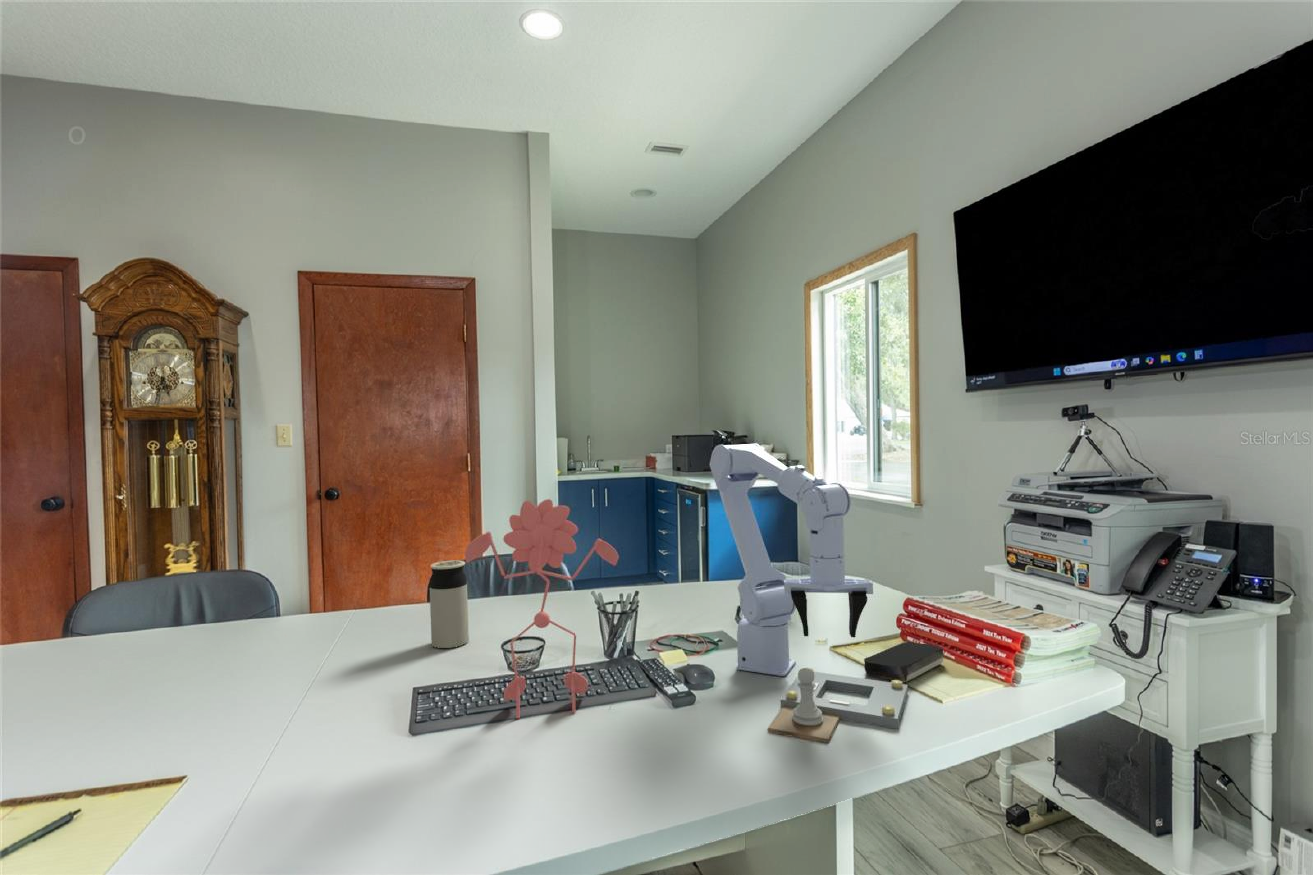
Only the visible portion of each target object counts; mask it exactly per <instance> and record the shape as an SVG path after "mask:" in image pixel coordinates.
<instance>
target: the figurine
mask: <svg viewBox="0 0 1313 875" xmlns="http://www.w3.org/2000/svg"><path fill="white" fill-rule="evenodd" d="M570 511H571V509H570V507H569V506H567V505H557V506H554V503H553V500H552V499H550V498H548V499H544V500H542V501H541V502H540V503H538V505H537V506H536V505H535V503H534V502H532V501H530V500H528V499H527V500H525V501H523V502H522V504H521V507H520V513H519V515H518V514H512V515H510V516H509V521H508V522H509V525H510V528H511V530H512V531H509V532H507V533H506V534H505V535H504V536H503V542H504V543H505V544H506V546H508V547H510V548H512V549H514V550H513V552H512V556H511V557H512V561H514V562H516V563H525V562H528V563H527V566H528V569H529V570H528V571H522V572H516V573H513V574H512V573H511V574H506V573H505V570H504V568H503V565H502V563H501V562H502V561H501V559H500V557H499V554H498V551H497V549H496V546H495V543H494V541H493V537H492V532H491V531H486V532H485V533H483V534H480V535H478V536H477V537H475V538H474V539H473V540H471V542H470V543H468V545H467V546H466V548H465V551H464V559H465V564H468V563H470V562H472V561H474V560H475V559H477V558H479V557H481V556H482V555H483V554H484V553H485V552H487V551H488V549H489V548H490V547H491V549H492V552H493V554H494V557H495V560H496V562H497V566H498V567H499V572H500V573H501V574H500V575H501V576H503V580H504V579H510V578H516V577H521V576H526V575H527V576H528V575H531V574H536V575H538V576H540V577H541V578H542V579H543V580H544V581H545V582H546V584H545V589H544V592H543V593H544V594H543V599H542V604H541V608H540V611H539V612H537V613H536V614H535V616H534V618H533V621H534V622H532V623H531V624H530V625H529V626H528V627H526V628H525V629H523V631H521V633H519V634H518V635H517V636H515V638H513V639H512V640H511V641H510V644H509V645H510V652H511V656H512V664H513V665H512V666H513V670H514V671H513V672H514V677H515V678H513V679H512V680H511V681H510V682H509V684H507V686H506V687H505V691H504V690H503V691H504V692H503V698H504V700H505V702H506V701H508V700H513V699H515V698H516V700H515V703H516V705H515V708H516V711H515V712H516V719H520V716H521V710H520V708H521V704H520V702H521V700H520V699H521V697H520V696H521V695H522V694H523V692H525V689H526V686H527V685H526V684H527V682H526V678H525V676H522V675H520V676H518V671H517V665H516V664H517V662H516V658H515V657H516V656H515V648H514V642H515V641H516V640H517V639H519V638H520V637H521V636H523V634H525V633H526V632H527V631H529V630H530V629H531V628H532V627H534V626H536V627H537V628H538V629H545V628H547V627H548V626H549V624H551V625H552V626H553V625H554V626H555V627H558V628H559V629H561V630H563V631H565V632H567V633H569V634H571V635H573V649H572V667H571V668H572V669H571V672H568V673H565V675H564V680H563V681H564V682H563V683H564V685H565V687H566V689H567V690H569V691H570V693H571V711H572V713H573V714H574V713H577V712H576V711H577V710H576V695H578V694H583V693H585V695H586V694H587V693H586V692H587V691H588V689H589V682H588V680H587V679H586V677H585V676H583V675H582V674H581V673H580V672H576V671H575V668H576V667H575V663H576V649H577V648H576V644H577V634H576V633H575V632H573V631H571V630H569V629H567V628H566V627H564V626H562V625H560V624H558V623H556V622H554V621H553V620H551V618H550V615H549V614H548V612H546V611H544V608H545V606H546V605H545V604H546V600H547V596H548V592H549V590H550V589H549V588H550V585H551V583H550V581H551V580H550V579H549V578H548V577H547V576H551V577H555V578H559V579H563V580H567V581H570V582H574V580H575V579H576V577H577V576H578V575H579V573H580V571H581V570H582V569H583V567H584V566H585V565H586V563H587V562H588V561H589V559H590V557H591V556H592V555H593V553H594V552H596V554H597V555H598V556H600V558H602V559H603V560H604V561H606V562H607V563H609V564H611V565H613V566H616V565H617V564H618V561H619V558H620V556H619V554H618V552H617V550H616V548H614V547H613V546H612V545H611V544H609V543H608V542H607V541H604V540H602V539H601V538H597V539H596V540H595V541H594V545H593V547H591V549H590V551H589V553H587V555H586V557H585V558H584V559H583V561H582V562H581V564H580V565H579V566H578V568H577V570H576V571H575V573H574V574H573V575H572V576H569V575H567V576H566V575H564V574H559V573H555V572H551V571H547V570H544V569H543V568H544V567H545V566H546V565H547V564H548V565H549V566H550V567H552V568H554V569H557V568H558V569H559V568H560V567H561V566H562V562H563V559H564V554H566V555H567V554H568V555H572V554H574V553H576V552H577V544H576V542H575V540H574V539H573V537H572V536H574V535H575V534H577V533H578V531H579V527H578V526H577V525H576V524H575V523H574V522H572V521H571V520H567V519H568V518H569V516H570ZM577 693H578V694H577ZM611 707H612V705H610V707H609V709H608V710H610V709H611Z"/></svg>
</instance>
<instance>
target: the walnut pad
mask: <svg viewBox="0 0 1313 875" xmlns="http://www.w3.org/2000/svg"><path fill="white" fill-rule="evenodd" d="M794 708H795V707H790V706H783V707H782V708H781V707H780V710H779V712H778V713H777V714H776V715H775V717H774V718H773V720H772V721H771V722H770V724H769V726H768V727H767V732H769V733H773V734H778V735H783V736H789V737H794V738H799V739H805V740H810V741H814V742H815V741H816V742H820V743H825V744H829V742H830V740H831V738H832V736H833V734H834V732H835V730H836V728H837V726H838V724H839V722H840V720H841V719H840V715H837V714H831V713H825V712H822V715H821V716H822V717H823V721H822V723H821V724H819V725H817V726H803V725H799V724H797V723H796V722H795V721H794V720H793V719H792V715H793V714H794V713H793V709H794Z"/></svg>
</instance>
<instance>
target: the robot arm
mask: <svg viewBox="0 0 1313 875" xmlns="http://www.w3.org/2000/svg"><path fill="white" fill-rule="evenodd" d="M709 467H710V470H711V474H712V477H713V479H714V483H715V486H716V489H717V490H718V491H719V496H720V498H721V503H722V505H723V507H724V511H725V514H726V518H727V521H728V523H729V527H730V530H731V533H732V535H733V539H734V542H735V545H736V550H737V552H738V554H739V558H740V561H741V564H742V567H743V570H744V573H745V575H744V577H743V578H742V580H741V581H740V582H739V584H738V585H737V591H738V595H739V607H740V611H741V613H742V615H743V617H744V618H742V619H740V621H739V622H738V625H737V632H736V633H737V634H736V643H737V644H736V645H737V649H736V650H737V666H736V669H737V670H740V671H745V672H753V673H760V674H765V675H772V676H777V677H779V676H781V677H785V676H787V674H788V673H789V672H790V670H791V669H792V668H793V667H794V665H795V664H796V660H795V659H791V658H790V652H789V651H790V649H789V648H790V645H789V621H792V617H791V615H793V614H794V613H795V612H796V610H797V612H798V615H799V618H800V621H801V625H802V632H803V636H804V637H809V625H808V600H807V594H806V593H812V594H813V593H814V594H815V593H819V594H820V593H823V594H825V593H826V594H829V593H830V594H834V593H835V594H840V593H841V594H848V595H847V596H848V607H849V618H848V620H849V621H848V623H849V624H848V631H849V636H850V637H851V638H856V637H857V636H856V634H857V628H858V625H859V621H860V617H861V615H862V613H863V611H864V609H865V607H866V605H867V602H868V596H867V595H874V582H872V580H871V579H857V578H856V579H855V578H846V573H845V572H846V571H845V570H846V568H845V567H846V566H845V533H844V532H845V531H844V528H845V527H844V516H846V515H847V514H848V513H849V511H850V508H851V504H852V503H851V501H852V500H851V497H850V494H849V491H848V490H847V488H846V487H844V486H843V485H842V484H841V483H839V482H833V483H827V482H825V480H824V478H822V477H820V476H815V475H814V474H811V473H809V472H808V471H807V470H806V467H805V466H803V465H791V466H789V467H787V466H786V465H785V464H783V463H782V462H780V461H779V460H778V459H776V458H775V457H774V456H772V455H770V454H769V453H768V452H767V450H766V447H764V446H762V445H760V444H758V443H755V442H751V443H749V444H748V443H746V444H745V443H744V444H725V445H724V444H718V445H716V446H715V447H714V448H713V451H712V452H711V457H710V461H709ZM760 475H761V476H763V477H764V478H766V479H768V480H770V481H771V482H774V483H776V484H777V489H778V491H779V493H780V494H782V495H784V496H785V497H786V498H788V499H790V500H791V501H793V502H794V503H796V504H797V505H798V506H800V509H801V511H802V513H803V516H804V518H805V526H806V527H807V529H808V537H809V538H808V539H809V541H808V542H809V572H810V573H809V576H810V577H808V578H795V579H793V578H791V579H787V577H786V575H785V574H784V573H783V572H781V571H780V570H778V569H776V568H775V567H773V565H772V563H771V560H770V557H769V553H768V551H767V548H766V545H765V543H764V540H763V536H762V533H761V530H760V527H759V524H758V522H757V518H756V515H755V514H754V513H755V512H754V510H753V507H752V503H751V501H750V498H749V495H748V492H749V489H751V488H752V487H754V485H755V483H756V482H757V480H758V477H759V476H760Z"/></svg>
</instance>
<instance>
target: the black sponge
mask: <svg viewBox="0 0 1313 875" xmlns="http://www.w3.org/2000/svg"><path fill="white" fill-rule="evenodd" d="M944 656H945V655H944V648H943V647H942V646H938V645H935V644H931V643H920V642H914V641H913V642H912V641H907V642H906V641H905V642H901V643H899V644H895V645H894V646H892V647H889V648H887V649H884V650H882V651H880V652H878V653H875V654H873V655H870V656H868V657H865V658H864V659H863V661H864V671H865V672H864V673H865V674H866V675H867V676H871V677H876V678H880V679H884V680H885V679H886V680H890V681H892V680H899V681H902V682H903V683H906V682H908V681H911V680H913V679H915V678H917V677H918V676H920V675H923V674H924V673H926V672H928V671H930V670H932V669H933V668H935V667H937V666H939V665H941V664H942V663H943V662H944Z"/></svg>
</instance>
